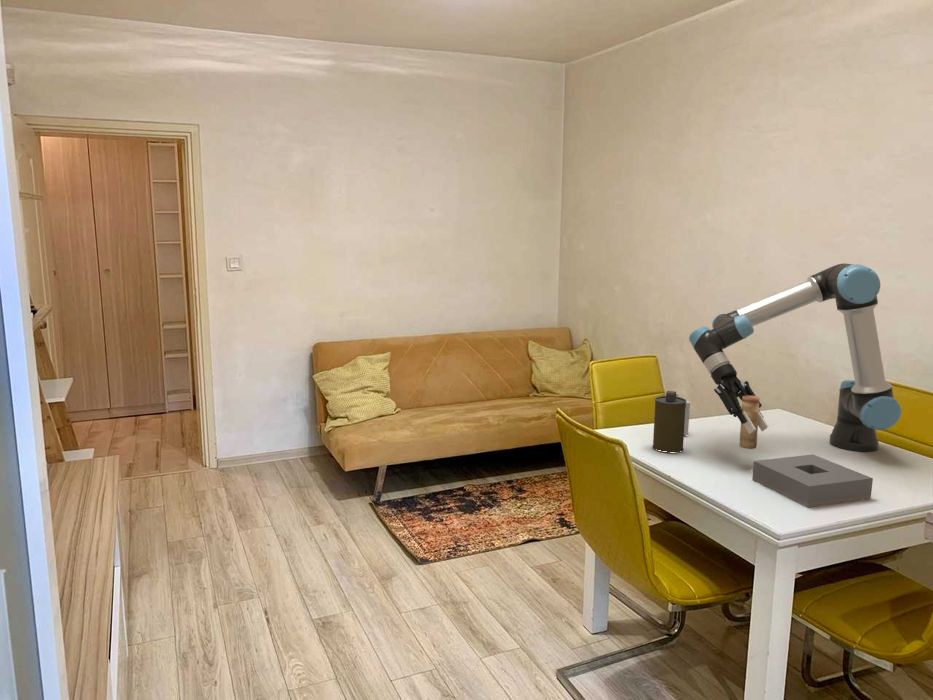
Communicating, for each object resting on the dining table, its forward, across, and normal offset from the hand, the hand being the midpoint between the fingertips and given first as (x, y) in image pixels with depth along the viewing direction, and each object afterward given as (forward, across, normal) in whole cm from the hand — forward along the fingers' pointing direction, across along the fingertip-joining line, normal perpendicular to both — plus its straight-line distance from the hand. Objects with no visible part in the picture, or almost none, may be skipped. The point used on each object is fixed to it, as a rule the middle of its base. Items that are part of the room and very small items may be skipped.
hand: (758, 430), depth 220 cm
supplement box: (-20, -6, -38) cm, 44 cm away
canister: (-11, +10, -29) cm, 33 cm away
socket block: (+22, 0, +4) cm, 23 cm away
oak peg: (+2, 0, -7) cm, 7 cm away
